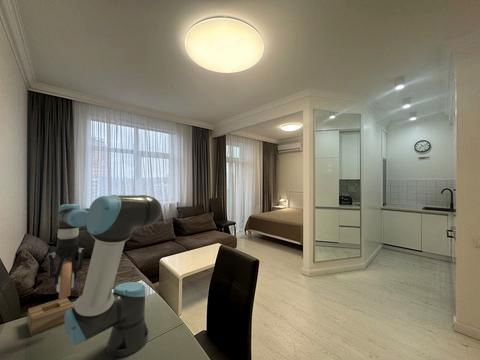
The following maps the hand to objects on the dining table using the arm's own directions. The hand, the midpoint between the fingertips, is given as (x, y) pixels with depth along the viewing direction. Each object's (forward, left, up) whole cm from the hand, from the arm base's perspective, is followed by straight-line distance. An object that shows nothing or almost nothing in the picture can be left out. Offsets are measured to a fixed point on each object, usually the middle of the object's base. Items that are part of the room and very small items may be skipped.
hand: (65, 289), depth 90 cm
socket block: (+14, +2, -19) cm, 23 cm away
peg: (0, 0, -3) cm, 3 cm away
